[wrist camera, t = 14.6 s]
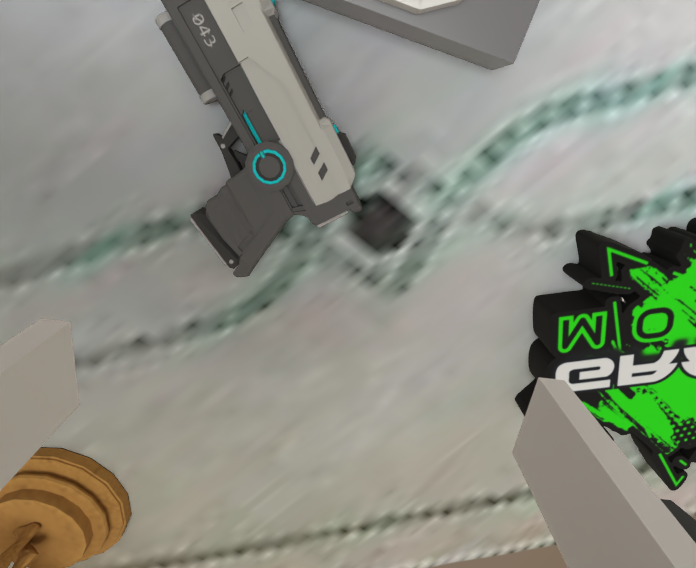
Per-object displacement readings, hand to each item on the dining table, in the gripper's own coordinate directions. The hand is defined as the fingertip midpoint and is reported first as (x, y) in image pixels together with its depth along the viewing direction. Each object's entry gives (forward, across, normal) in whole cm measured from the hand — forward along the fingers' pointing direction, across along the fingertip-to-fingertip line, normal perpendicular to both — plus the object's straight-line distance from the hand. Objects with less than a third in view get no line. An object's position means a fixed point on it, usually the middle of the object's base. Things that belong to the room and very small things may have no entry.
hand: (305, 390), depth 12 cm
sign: (+29, +37, -11) cm, 48 cm away
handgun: (+29, -8, +5) cm, 31 cm away
